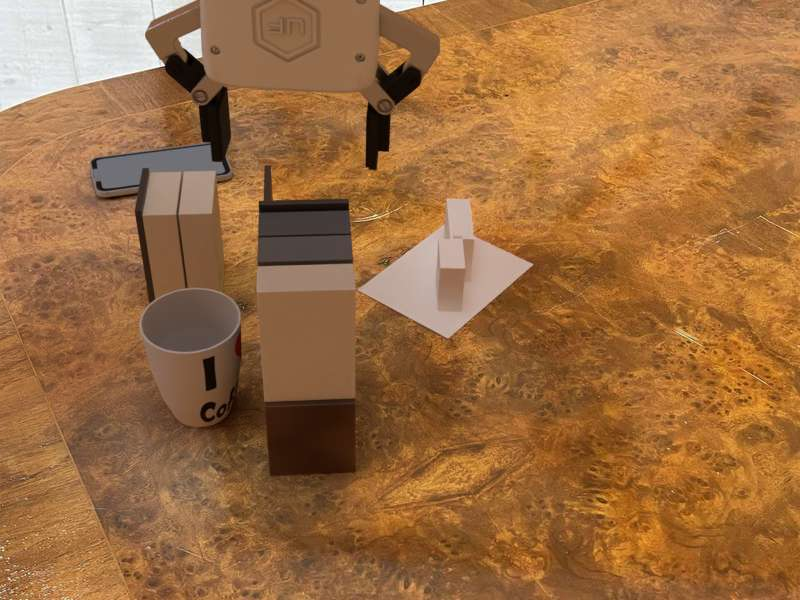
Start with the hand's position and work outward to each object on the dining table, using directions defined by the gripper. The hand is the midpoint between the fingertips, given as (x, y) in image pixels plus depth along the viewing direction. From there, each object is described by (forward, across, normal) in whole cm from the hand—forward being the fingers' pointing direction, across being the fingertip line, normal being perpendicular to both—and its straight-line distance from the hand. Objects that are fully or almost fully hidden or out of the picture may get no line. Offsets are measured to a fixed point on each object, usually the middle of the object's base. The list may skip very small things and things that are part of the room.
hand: (297, 154), depth 68 cm
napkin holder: (+31, +11, +26) cm, 42 cm away
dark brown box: (+30, 0, +6) cm, 31 cm away
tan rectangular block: (+22, 0, +2) cm, 22 cm away
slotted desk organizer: (+30, -12, +23) cm, 40 cm away
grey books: (+22, 0, +7) cm, 23 cm away
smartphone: (+31, -21, +42) cm, 56 cm away
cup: (+31, -10, +6) cm, 33 cm away
